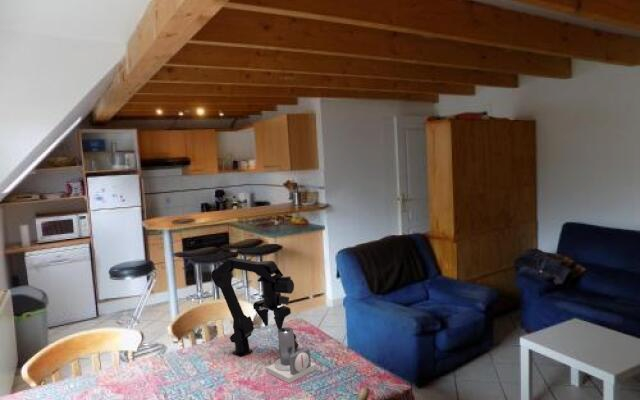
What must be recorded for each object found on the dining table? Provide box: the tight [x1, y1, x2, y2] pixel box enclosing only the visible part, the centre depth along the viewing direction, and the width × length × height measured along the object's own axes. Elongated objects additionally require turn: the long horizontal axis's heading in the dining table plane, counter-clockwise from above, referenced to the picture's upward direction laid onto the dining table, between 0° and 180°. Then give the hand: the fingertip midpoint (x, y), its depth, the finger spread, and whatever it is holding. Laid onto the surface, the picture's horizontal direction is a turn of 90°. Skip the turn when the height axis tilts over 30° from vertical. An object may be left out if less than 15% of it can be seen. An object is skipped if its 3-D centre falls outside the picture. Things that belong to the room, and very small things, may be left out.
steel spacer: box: [277, 326, 296, 366], centre depth 169 cm, size 6×6×13 cm
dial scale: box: [265, 347, 317, 384], centre depth 168 cm, size 14×14×9 cm
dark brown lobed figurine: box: [293, 332, 299, 352], centre depth 192 cm, size 6×5×15 cm
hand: (273, 328), depth 179 cm, fingers open, 9 cm apart
